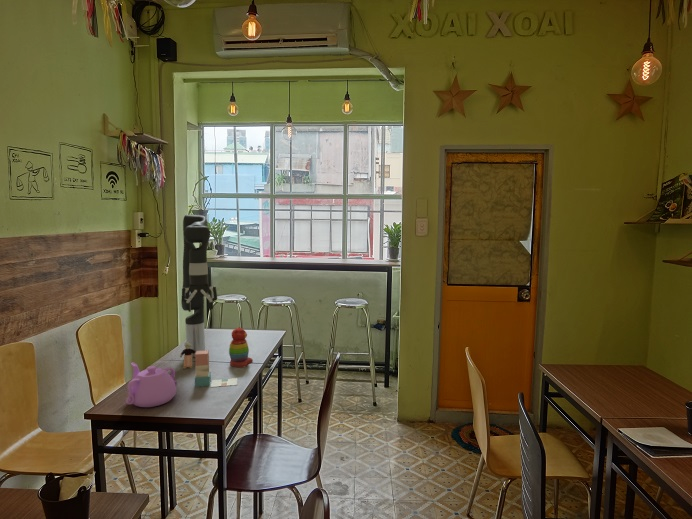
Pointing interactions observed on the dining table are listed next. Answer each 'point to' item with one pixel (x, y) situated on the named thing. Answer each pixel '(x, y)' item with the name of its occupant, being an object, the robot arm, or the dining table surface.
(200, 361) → the red block
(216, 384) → the page
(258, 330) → the dining table surface
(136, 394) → the teapot
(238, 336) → the stacking bear
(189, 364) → the grandmother figurine
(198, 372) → the maple block
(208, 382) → the teal base brick
